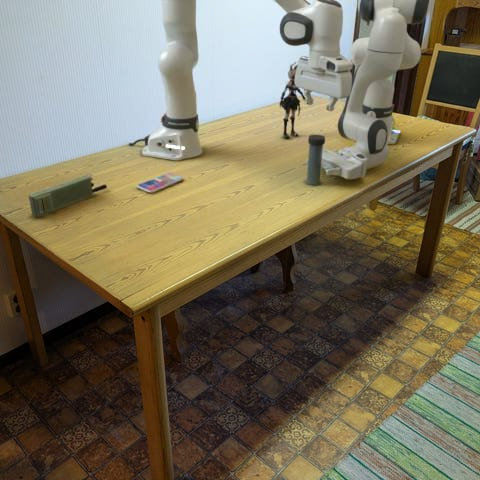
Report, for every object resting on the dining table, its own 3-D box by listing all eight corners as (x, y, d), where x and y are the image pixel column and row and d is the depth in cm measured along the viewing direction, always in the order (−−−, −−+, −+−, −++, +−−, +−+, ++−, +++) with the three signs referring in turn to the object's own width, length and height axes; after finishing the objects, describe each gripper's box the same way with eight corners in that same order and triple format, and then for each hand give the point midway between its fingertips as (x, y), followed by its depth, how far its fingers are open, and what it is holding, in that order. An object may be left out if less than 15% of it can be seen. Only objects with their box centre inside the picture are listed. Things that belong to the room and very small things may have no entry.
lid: (320, 139, 163) (320, 134, 162) (327, 144, 159) (328, 138, 158) (305, 141, 162) (306, 135, 161) (312, 146, 157) (313, 140, 157)
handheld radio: (30, 215, 144) (102, 188, 161) (37, 219, 142) (109, 191, 159) (26, 193, 140) (100, 168, 157) (33, 197, 138) (107, 171, 155)
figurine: (282, 141, 203) (286, 63, 188) (271, 138, 207) (274, 61, 192) (306, 134, 212) (311, 59, 197) (295, 130, 215) (300, 57, 201)
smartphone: (184, 177, 167) (150, 191, 157) (184, 180, 167) (151, 194, 157) (168, 171, 171) (134, 185, 161) (168, 174, 171) (135, 188, 161)
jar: (315, 179, 169) (319, 135, 162) (321, 184, 166) (326, 139, 158) (304, 181, 168) (307, 137, 161) (309, 186, 165) (313, 141, 157)
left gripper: (291, 56, 153) (288, 101, 160) (342, 66, 139) (337, 116, 146) (306, 54, 157) (303, 99, 164) (357, 64, 143) (351, 113, 150)
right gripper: (329, 142, 177) (297, 149, 171) (371, 160, 162) (338, 168, 156) (327, 159, 180) (296, 166, 174) (368, 178, 165) (336, 187, 159)
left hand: (319, 107), depth 155 cm, fingers open, 7 cm apart
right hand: (316, 167), depth 165 cm, fingers open, 8 cm apart
